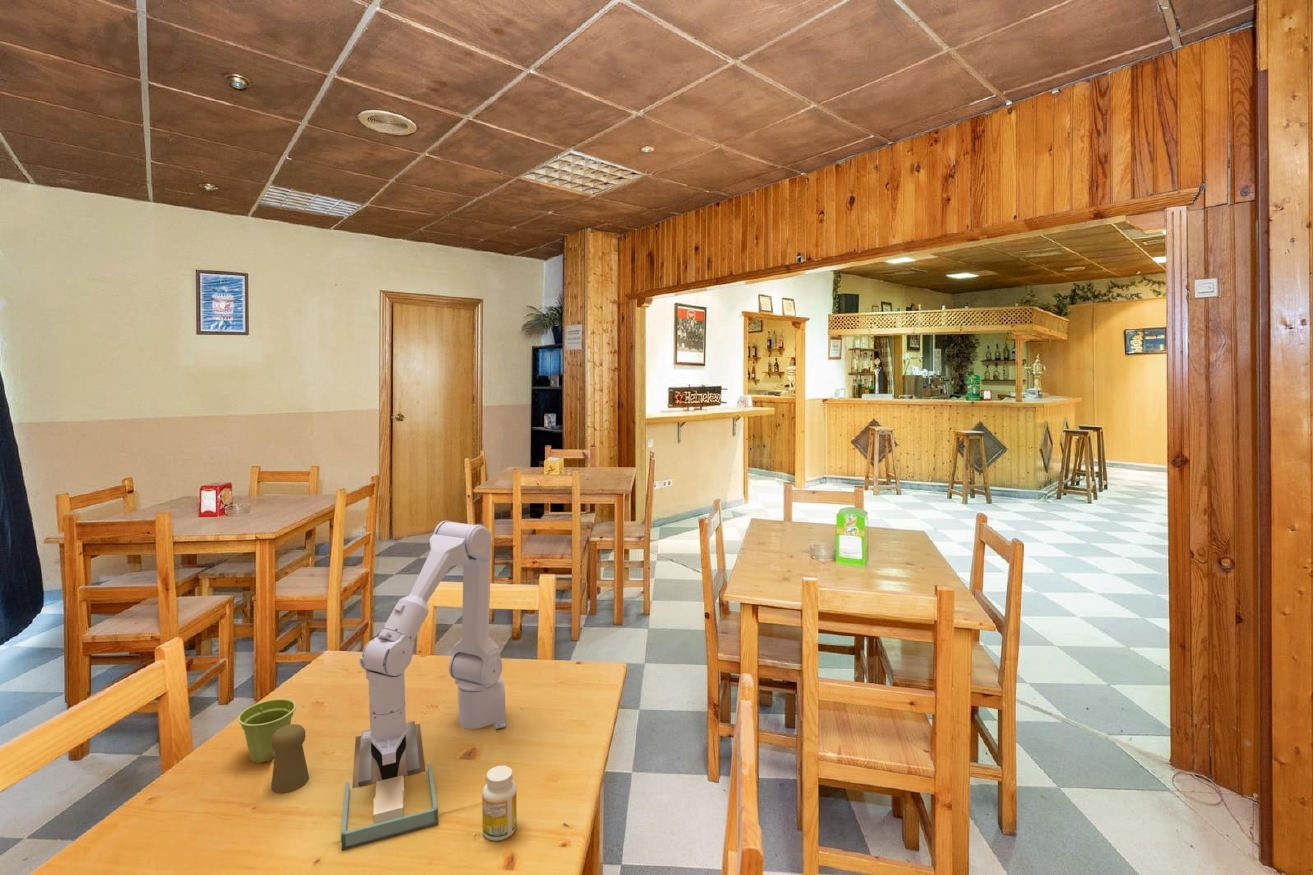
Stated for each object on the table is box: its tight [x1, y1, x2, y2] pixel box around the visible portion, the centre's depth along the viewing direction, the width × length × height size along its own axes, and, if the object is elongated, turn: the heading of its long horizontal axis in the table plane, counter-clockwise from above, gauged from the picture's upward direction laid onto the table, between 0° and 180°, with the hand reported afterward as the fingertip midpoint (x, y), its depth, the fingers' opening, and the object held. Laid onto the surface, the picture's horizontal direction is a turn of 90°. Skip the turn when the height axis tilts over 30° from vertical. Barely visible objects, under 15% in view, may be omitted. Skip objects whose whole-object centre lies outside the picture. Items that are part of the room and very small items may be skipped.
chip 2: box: [372, 791, 404, 824], centre depth 101 cm, size 4×4×2 cm
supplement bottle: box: [481, 765, 518, 842], centre depth 98 cm, size 5×5×10 cm
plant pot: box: [237, 698, 297, 764], centre depth 117 cm, size 9×9×9 cm
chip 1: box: [375, 775, 406, 801], centre depth 105 cm, size 4×4×2 cm
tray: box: [340, 762, 439, 851], centre depth 102 cm, size 14×13×2 cm
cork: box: [270, 723, 310, 795], centre depth 107 cm, size 6×6×11 cm
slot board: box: [351, 720, 426, 789], centre depth 117 cm, size 12×17×2 cm
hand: (389, 780), depth 107 cm, fingers closed
